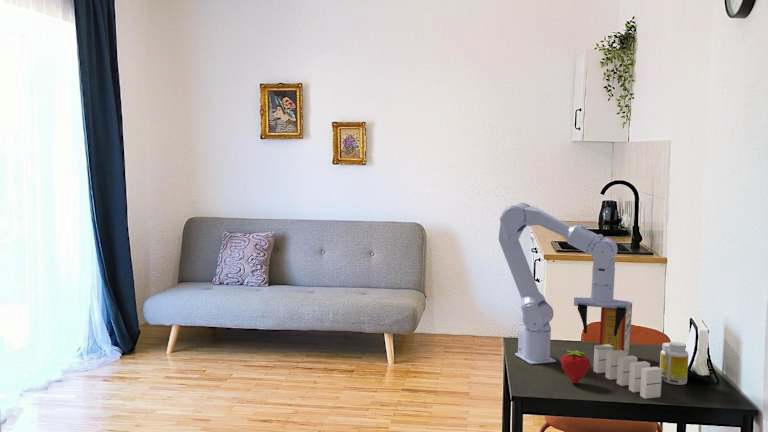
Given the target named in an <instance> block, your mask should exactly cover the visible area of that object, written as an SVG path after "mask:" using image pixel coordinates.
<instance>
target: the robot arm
mask: <svg viewBox="0 0 768 432" xmlns="http://www.w3.org/2000/svg"><path fill="white" fill-rule="evenodd" d="M499 222H500V225H499V231H498V241H499V245H500V247H501V249H502V252H503V255H504V257H505V260H506V262H507V265H508V267H509V270H510V272H511V275H512V277H513V281H514V283H515V285H516V288H517V290H518V292H519V296H520V298H521V303H520V309H521V311H522V322H523V326H522V327H521V328H520V329H519V330H518V331H519V332H518V340H517V341H518V343H517V352H514V355H515V356H516V357H518V358H520V359H521V360H523V361H525V362H527V363H528V364H529V365H538V364H548V363H556V362H557V360H556V359H554V358H553V357H551V339H552V337H551V336H552V334H551V333H552V326H551V325H550V322H551V321H552V320H553V318H554V310H553V307H552V306H551V305H550V303H548V302H547V300H546V298H545V296H544V295H543V294H542V293H541V292H540V290H539V288H538V285H537V283H536V280H535V277H534V275H533V273H532V269H531V267H530V265H529V262H528V260H527V257H526V255H525V253H524V249H523V248H522V245H521V242H520V238H521V236H522V233H523V231H524V229H526V227H530V226H531V227H532V226H540V227H542V228H544V229H546V230H549V231H551V232H553V233H555V234H557V235H560V236H562V237H564V238H565V239H566V242H567V244H568V245H570V246H573V248H576V249H578V250H580V251H582V252H584V253H586V254H588V255H591V257H592V259H593V261H592V263H593V265H592V272H591V273H592V275H591V290H590V291H591V293H590V297H577V296H576V297H574V298H573V306H575V307H577V311H578V314H579V316H580V319H581V321H582V326H583V334H587V333H588V319H587V318H588V307H592V308H593V307H595V308H601V307H604V308H616V314H615V326H614V336H617V331H618V328H619V325H620V323H621V321H622V319H623V317H624V316H625V314H626V310H630V305H631V303H630V302H631V301H628V300H623V299H622V300H620V299H614V293H615V292H614V291H615V274H616V272H615V271H616V266H615V263H616V258H615V257H616V256H617V253H618V250H619V249H618V248H619V247H618V244H617V243H616V241H615V240H613V239H612V238H611V237H606V236H605V237H604V234H601V233H599V234H597V233H595V232H593V231H591V230H589V229H587V228H588V227H587V225H584V224H582V225H579V224H576V225H573V226H570V225H569V224H567V223H565V222H564V221H562V220H560V219H558V218H556V217H554V216H552V215H550V214H549V213H547V212H545V211H544V210H541V209H540V208H538V207H537V206H533V205H530V204H528V203H526V202H519V203H517V204H515V205H513V204H512V205H509V206H507V207H505V209H504V210H503V212H502V214H501V216H500V217H499Z"/></svg>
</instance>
